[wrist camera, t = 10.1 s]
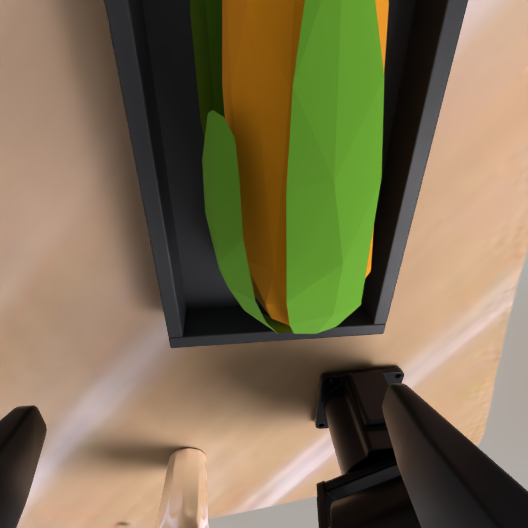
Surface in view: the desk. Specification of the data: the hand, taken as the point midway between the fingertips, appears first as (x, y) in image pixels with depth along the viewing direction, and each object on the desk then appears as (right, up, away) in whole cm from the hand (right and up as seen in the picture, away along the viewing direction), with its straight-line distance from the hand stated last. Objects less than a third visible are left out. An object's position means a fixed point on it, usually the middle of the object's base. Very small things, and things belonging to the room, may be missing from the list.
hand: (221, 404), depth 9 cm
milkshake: (-5, -14, +22) cm, 27 cm away
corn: (+2, +11, +7) cm, 13 cm away
